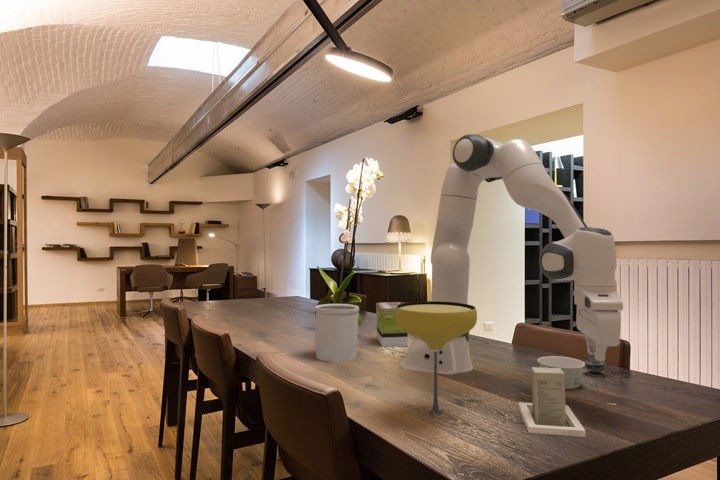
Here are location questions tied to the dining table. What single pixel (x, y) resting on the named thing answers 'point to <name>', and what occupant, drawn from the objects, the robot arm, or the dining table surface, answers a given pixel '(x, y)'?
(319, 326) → the utensil holder
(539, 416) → the skincare box
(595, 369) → the grey tiered upright piece
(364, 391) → the dining table surface
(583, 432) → the beige flat frame
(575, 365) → the food container
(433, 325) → the cocktail glass
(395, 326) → the tea box
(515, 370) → the dining table surface
